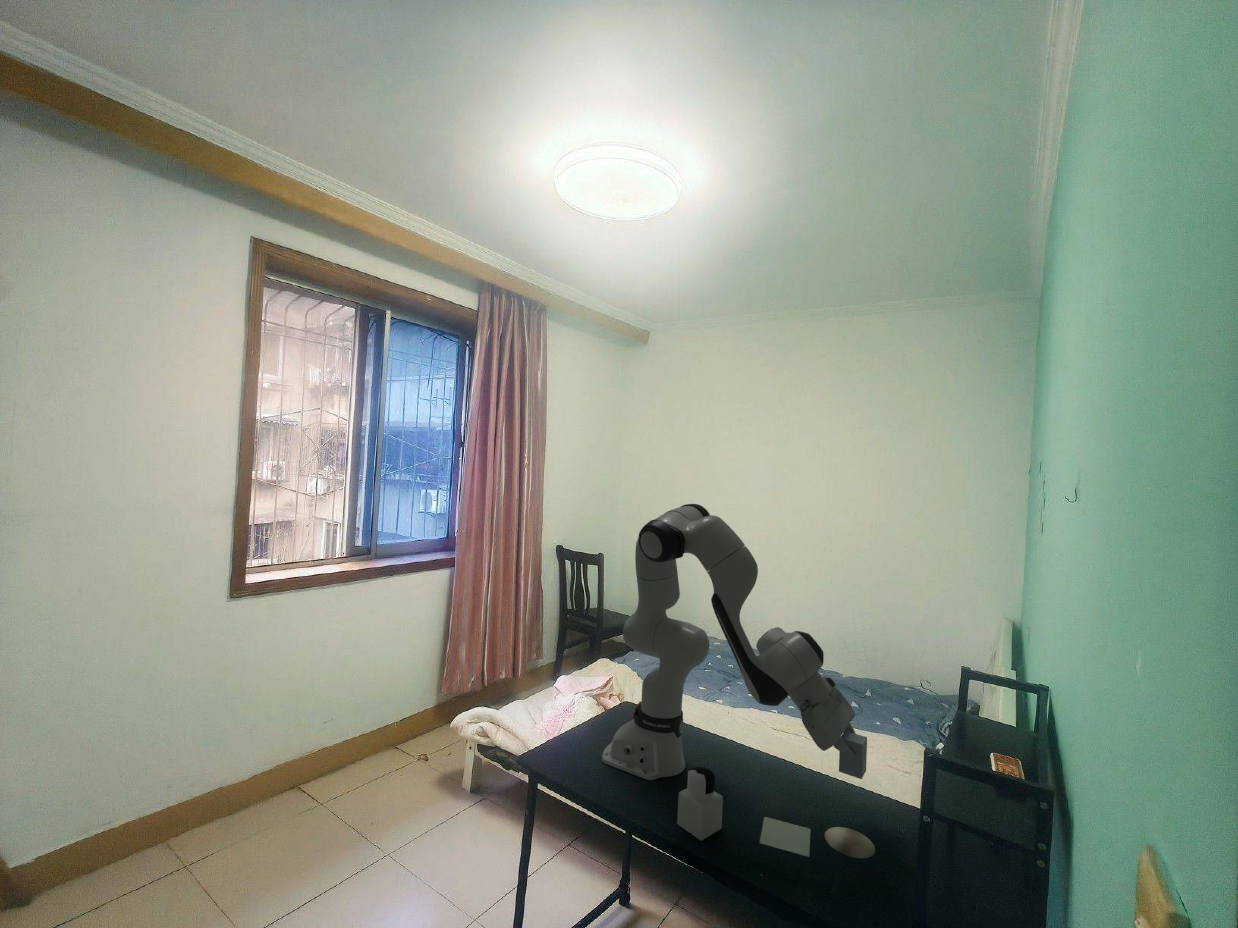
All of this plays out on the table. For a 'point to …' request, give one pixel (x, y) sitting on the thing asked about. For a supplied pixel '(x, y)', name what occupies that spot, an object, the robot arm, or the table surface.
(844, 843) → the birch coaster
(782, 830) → the sage mat
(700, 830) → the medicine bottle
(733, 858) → the table surface
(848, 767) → the grey block
